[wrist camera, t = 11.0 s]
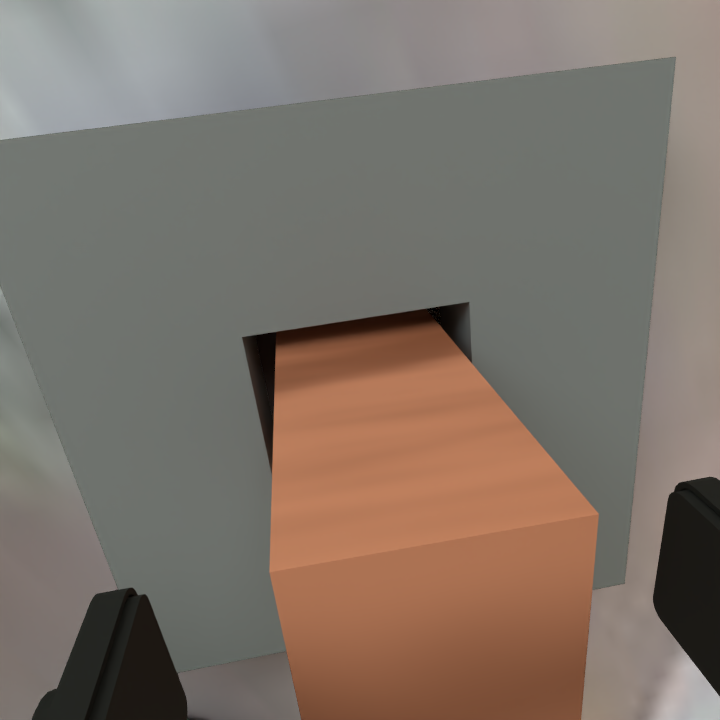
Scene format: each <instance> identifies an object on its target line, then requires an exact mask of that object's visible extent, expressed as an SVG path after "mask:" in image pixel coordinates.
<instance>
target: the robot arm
mask: <svg viewBox="0 0 720 720" xmlns="http://www.w3.org/2000/svg"><path fill="white" fill-rule="evenodd" d="M653 603H654V607H655V610H656V612H657V614H658V616H659V618H660V619H661V621H662V622H663V623H664V625H665V626H666V627H667V629H668V630H669V631H670V632H671V634H672V635H673V636H674V638H675V639H676V640H677V642H678V643H679V644H680V645H681V647H682V648H683V649H684V651H685V652H686V653H687V654H688V656H689V657H690V658H691V660H692V661H693V662H694V664H695V665H696V666H697V667H698V669H699V670H700V671H701V673H702V674H703V675H704V676H705V678H706V679H707V680H708V682H709V683H710V684H711V686H712V687H713V688H714V689H715V691H716V692H717V693H718V695H719V696H720V480H718V479H717V478H714V477H707V478H701V479H696V480H691V481H686V482H681V483H678V485H677V486H676V487H675V491H674V492H673V493H671V494H670V495H669V498H668V503H667V509H666V516H665V522H664V529H663V536H662V542H661V549H660V555H659V562H658V568H657V575H656V581H655V588H654V595H653ZM32 720H187V701H186V696H185V693H184V690H183V688H182V685H181V682H180V680H179V677H178V674H177V672H176V669H175V667H174V664H173V661H172V659H171V656H170V653H169V651H168V648H167V646H166V643H165V640H164V638H163V635H162V632H161V630H160V627H159V625H158V622H157V619H156V617H155V614H154V611H153V609H152V606H151V604H150V601H149V599H148V597H147V595H146V594H142V595H138V594H137V592H136V591H135V589H134V588H125V589H120V590H115V591H110V592H105V593H99V594H96V595H95V596H94V597H93V599H92V601H91V603H90V605H89V608H88V610H87V613H86V615H85V618H84V621H83V623H82V626H81V628H80V631H79V634H78V636H77V639H76V641H75V644H74V647H73V649H72V652H71V654H70V657H69V659H68V662H67V665H66V667H65V670H64V672H63V675H62V678H61V680H60V683H59V685H58V688H57V689H54V690H52V691H49V692H47V694H46V695H45V696H44V697H43V698H42V699H41V701H40V703H39V705H38V707H37V709H36V710H35V713H34V715H33V718H32Z"/></svg>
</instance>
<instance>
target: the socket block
mask: <svg viewBox="0 0 720 720" xmlns="http://www.w3.org/2000/svg"><path fill="white" fill-rule="evenodd" d="M675 61H676V57H670V58H662V59H654V60H646V61H638V62H630V63H622V64H613V65H605V66H597V67H589V68H581V69H573V70H565V71H557V72H549V73H540V74H532V75H524V76H516V77H508V78H500V79H492V80H484V81H476V82H467V83H459V84H451V85H443V86H435V87H427V88H419V89H411V90H403V91H395V92H386V93H378V94H370V95H362V96H354V97H346V98H338V99H330V100H322V101H313V102H305V103H297V104H289V105H281V106H273V107H265V108H257V109H249V110H240V111H232V112H224V113H216V114H208V115H200V116H192V117H184V118H176V119H168V120H159V121H151V122H143V123H135V124H127V125H119V126H111V127H103V128H95V129H86V130H78V131H70V132H62V133H54V134H46V135H38V136H30V137H22V138H13V139H5V140H0V286H1V289H2V291H3V294H4V297H5V299H6V302H7V304H8V307H9V309H10V312H11V315H12V317H13V320H14V322H15V325H16V327H17V330H18V333H19V335H20V338H21V340H22V343H23V345H24V348H25V351H26V353H27V356H28V358H29V361H30V364H31V366H32V369H33V371H34V374H35V376H36V379H37V382H38V384H39V387H40V389H41V392H42V394H43V397H44V400H45V402H46V405H47V407H48V410H49V412H50V415H51V418H52V420H53V423H54V425H55V428H56V430H57V433H58V436H59V438H60V441H61V443H62V446H63V448H64V451H65V454H66V456H67V459H68V461H69V464H70V467H71V469H72V472H73V474H74V477H75V479H76V482H77V485H78V487H79V490H80V492H81V495H82V497H83V500H84V503H85V505H86V508H87V510H88V513H89V515H90V518H91V521H92V523H93V526H94V528H95V531H96V533H97V536H98V539H99V541H100V544H101V546H102V549H103V551H104V554H105V557H106V559H107V562H108V564H109V567H110V569H111V572H112V575H113V577H114V580H115V582H116V585H117V588H118V590H120V589H125V588H134V589H135V591H136V592H137V594H138V595H142V594H146V595H147V597H148V599H149V601H150V604H151V606H152V609H153V611H154V614H155V617H156V619H157V622H158V625H159V627H160V630H161V632H162V635H163V638H164V640H165V643H166V646H167V648H168V651H169V653H170V656H171V659H172V661H173V664H174V667H175V669H176V672H177V673H180V672H185V671H190V670H195V669H200V668H205V667H210V666H215V665H220V664H225V663H230V662H235V661H240V660H245V659H250V658H255V657H260V656H265V655H270V654H275V653H280V652H285V651H286V646H285V642H284V637H283V632H282V628H281V623H280V619H279V614H278V609H277V605H276V600H275V596H274V591H273V586H272V582H271V577H270V573H269V570H270V534H271V499H272V463H273V428H274V422H273V417H272V412H271V407H270V402H269V398H268V393H267V388H266V383H265V378H264V373H263V368H262V364H261V359H260V354H259V349H258V344H257V339H256V335H259V334H265V333H271V332H278V331H284V330H291V329H297V328H304V327H310V326H317V325H323V324H330V323H336V322H342V321H349V320H355V319H362V318H368V317H375V316H381V315H388V314H394V313H401V312H407V311H413V310H420V309H426V308H433V307H439V306H440V317H441V327H442V329H443V330H444V331H445V332H446V333H447V335H448V336H449V337H450V338H451V339H452V341H453V342H454V343H455V344H456V345H457V346H458V348H459V349H460V350H461V351H462V352H463V354H464V355H465V356H466V357H467V358H468V359H469V361H470V362H471V363H472V364H473V365H474V367H475V368H476V369H477V370H478V371H479V373H480V374H481V375H482V376H483V377H484V378H485V380H486V381H487V382H488V383H489V384H490V386H491V387H492V388H493V389H494V390H495V391H496V393H497V394H498V395H499V396H500V397H501V399H502V400H503V401H504V402H505V403H506V405H507V406H508V407H509V408H510V409H511V410H512V412H513V413H514V414H515V415H516V416H517V418H518V419H519V420H520V421H521V422H522V423H523V425H524V426H525V427H526V428H527V429H528V431H529V432H530V433H531V434H532V435H533V437H534V438H535V439H536V440H537V441H538V442H539V444H540V445H541V446H542V447H543V448H544V450H545V451H546V452H547V453H548V454H549V456H550V457H551V458H552V459H553V460H554V461H555V463H556V464H557V465H558V466H559V467H560V469H561V470H562V471H563V472H564V473H565V474H566V476H567V477H568V478H569V479H570V480H571V482H572V483H573V484H574V485H575V486H576V488H577V489H578V490H579V491H580V492H581V493H582V495H583V496H584V497H585V498H586V499H587V501H588V502H589V503H590V504H591V505H592V506H593V508H594V509H595V510H596V511H597V512H598V514H599V518H598V530H597V541H596V552H595V564H594V575H593V587H592V590H595V589H600V588H605V587H610V586H615V585H620V584H625V574H626V564H627V553H628V543H629V533H630V523H631V512H632V502H633V492H634V482H635V471H636V461H637V451H638V441H639V430H640V420H641V410H642V400H643V389H644V379H645V369H646V359H647V348H648V338H649V328H650V318H651V307H652V297H653V287H654V276H655V266H656V256H657V246H658V235H659V225H660V215H661V205H662V194H663V184H664V174H665V164H666V153H667V143H668V133H669V123H670V112H671V102H672V92H673V82H674V71H675Z"/></svg>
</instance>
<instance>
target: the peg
mask: <svg viewBox="0 0 720 720" xmlns="http://www.w3.org/2000/svg"><path fill="white" fill-rule="evenodd" d="M598 518H599V514H598V512H597V511H596V510H595V509H594V508H593V506H592V505H591V504H590V503H589V502H588V501H587V499H586V498H585V497H584V496H583V495H582V493H581V492H580V491H579V490H578V489H577V488H576V486H575V485H574V484H573V483H572V482H571V480H570V479H569V478H568V477H567V476H566V474H565V473H564V472H563V471H562V470H561V469H560V467H559V466H558V465H557V464H556V463H555V461H554V460H553V459H552V458H551V457H550V456H549V454H548V453H547V452H546V451H545V450H544V448H543V447H542V446H541V445H540V444H539V442H538V441H537V440H536V439H535V438H534V437H533V435H532V434H531V433H530V432H529V431H528V429H527V428H526V427H525V426H524V425H523V423H522V422H521V421H520V420H519V419H518V418H517V416H516V415H515V414H514V413H513V412H512V410H511V409H510V408H509V407H508V406H507V405H506V403H505V402H504V401H503V400H502V399H501V397H500V396H499V395H498V394H497V393H496V391H495V390H494V389H493V388H492V387H491V386H490V384H489V383H488V382H487V381H486V380H485V378H484V377H483V376H482V375H481V374H480V373H479V371H478V370H477V369H476V368H475V367H474V365H473V364H472V363H471V362H470V361H469V359H468V358H467V357H466V356H465V355H464V354H463V352H462V351H461V350H460V349H459V348H458V346H457V345H456V344H455V343H454V342H453V341H452V339H451V338H450V337H449V336H448V335H447V333H446V332H445V331H444V330H443V329H442V327H441V326H440V325H439V324H438V323H437V322H436V320H435V319H434V318H433V317H432V316H431V314H430V313H429V312H428V311H427V310H426V309H420V310H413V311H407V312H401V313H394V314H388V315H381V316H375V317H368V318H362V319H355V320H349V321H342V322H336V323H330V324H323V325H317V326H310V327H304V328H297V329H291V330H284V331H278V332H276V357H275V392H274V428H273V463H272V499H271V534H270V570H269V573H270V577H271V582H272V586H273V591H274V596H275V600H276V605H277V609H278V614H279V619H280V623H281V628H282V632H283V637H284V642H285V646H286V651H287V655H288V660H289V665H290V669H291V674H292V679H293V683H294V688H295V692H296V697H297V702H298V706H299V711H300V715H301V720H581V713H582V701H583V690H584V678H585V667H586V655H587V644H588V633H589V621H590V610H591V598H592V587H593V575H594V564H595V552H596V541H597V530H598Z"/></svg>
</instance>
